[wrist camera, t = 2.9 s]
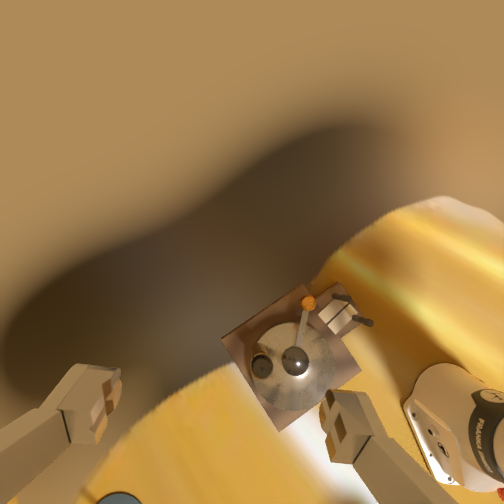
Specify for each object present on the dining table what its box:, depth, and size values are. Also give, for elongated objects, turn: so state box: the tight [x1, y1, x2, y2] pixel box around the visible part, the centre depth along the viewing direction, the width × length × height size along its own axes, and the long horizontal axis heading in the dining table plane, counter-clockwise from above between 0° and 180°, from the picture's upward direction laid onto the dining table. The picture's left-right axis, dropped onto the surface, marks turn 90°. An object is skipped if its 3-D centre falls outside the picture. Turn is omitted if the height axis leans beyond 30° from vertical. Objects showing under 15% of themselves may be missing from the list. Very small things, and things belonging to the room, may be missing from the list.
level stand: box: [221, 282, 373, 432], centre depth 45 cm, size 20×26×8 cm
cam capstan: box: [250, 294, 335, 411], centre depth 41 cm, size 17×22×11 cm
